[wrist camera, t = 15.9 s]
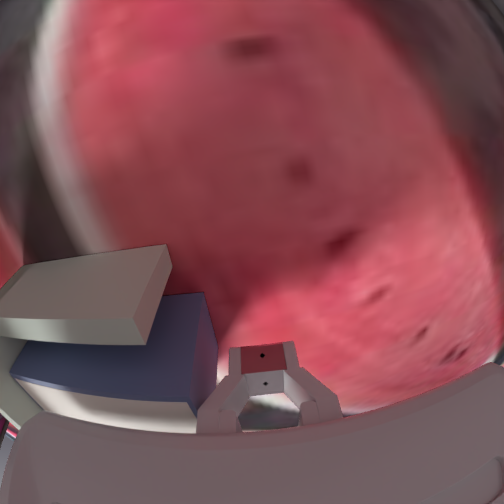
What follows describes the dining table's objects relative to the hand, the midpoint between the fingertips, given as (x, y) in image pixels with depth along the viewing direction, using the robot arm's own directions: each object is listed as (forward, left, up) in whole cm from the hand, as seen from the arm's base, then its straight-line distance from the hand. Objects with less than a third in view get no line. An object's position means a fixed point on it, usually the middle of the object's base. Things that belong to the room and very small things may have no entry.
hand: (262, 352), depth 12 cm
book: (0, +8, -3) cm, 8 cm away
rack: (0, +9, -3) cm, 9 cm away
